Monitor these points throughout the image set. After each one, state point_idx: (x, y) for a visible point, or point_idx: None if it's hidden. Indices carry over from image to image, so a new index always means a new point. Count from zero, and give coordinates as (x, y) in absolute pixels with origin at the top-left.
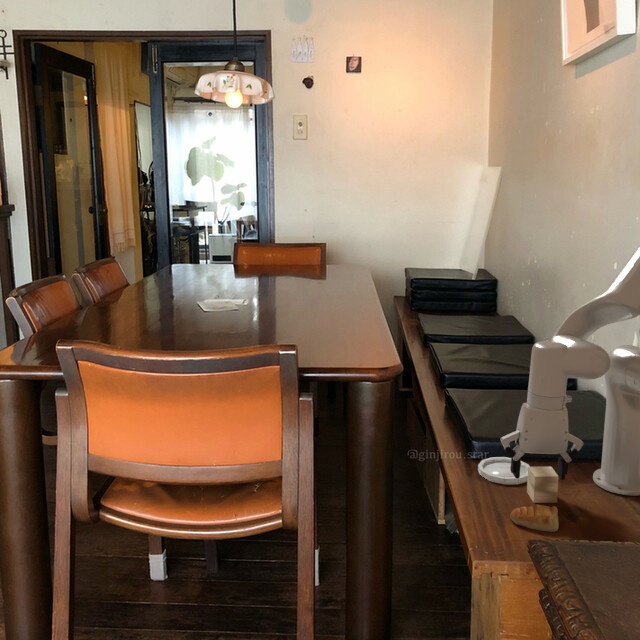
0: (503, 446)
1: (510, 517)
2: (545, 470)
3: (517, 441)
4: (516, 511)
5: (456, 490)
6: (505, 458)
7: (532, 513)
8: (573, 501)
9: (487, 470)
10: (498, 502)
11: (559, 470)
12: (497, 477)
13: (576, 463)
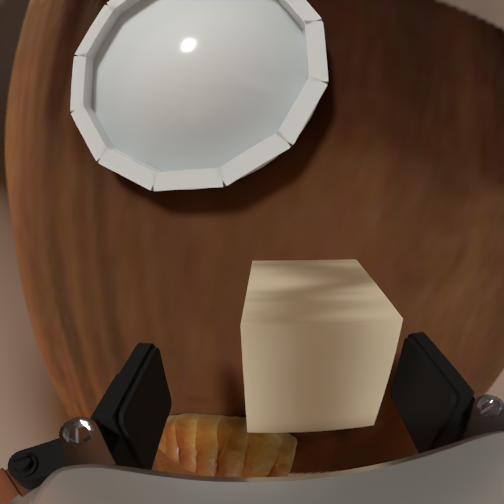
0: (8, 474)
1: None
2: (339, 374)
3: (60, 473)
4: (168, 456)
5: (17, 247)
6: None
7: None
8: (405, 336)
9: (111, 73)
10: (129, 339)
11: (411, 386)
12: (124, 175)
13: (501, 32)
